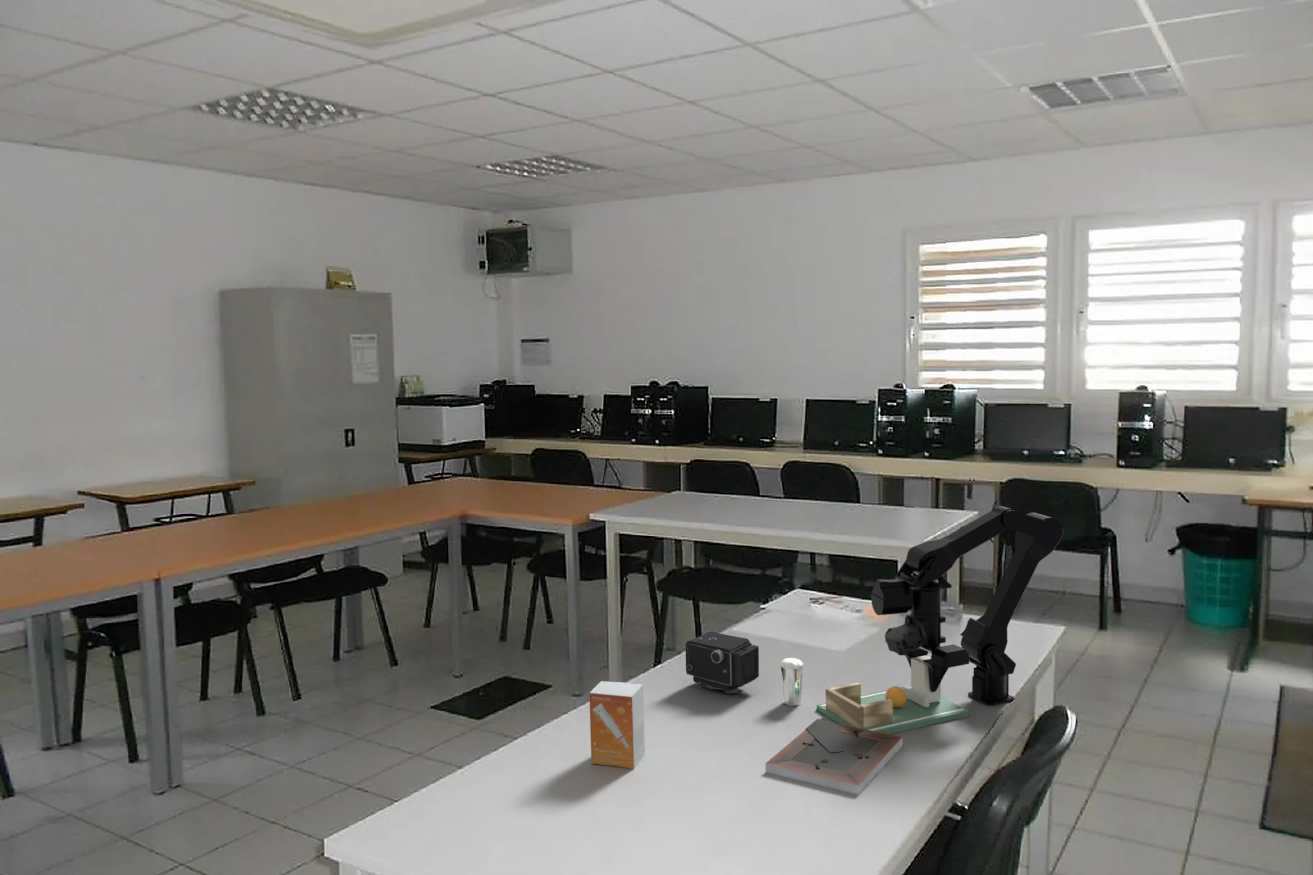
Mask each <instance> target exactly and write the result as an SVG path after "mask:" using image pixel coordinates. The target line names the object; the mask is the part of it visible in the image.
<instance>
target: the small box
mask: <svg viewBox="0 0 1313 875" xmlns="http://www.w3.org/2000/svg"><path fill="white" fill-rule="evenodd" d="M588 695H589V723H590V724H589V725H590V726H589V727H590V728H589V729H590V761H591V764H592V765H593V764H594V765H602V766H603V765H604V766H613V767H620V768H628V769H632V770H634V769H635V768H636V767H637V765H639V762H640V761H641V760H642V759H643V757H644V756H645V754H646V743H645V742H646V740H645V739H646V738H645V732H646V731H645V711H644V710H645V705H644V704H645V703H644V701H645V700H644V698H645V697H644V684H642V683H640V684H639V683H628V682H622V681H605V680H601V681H600V682H598V684H597V685H596V686H594V688H592V690H591V691H590V692H589V694H588Z"/></svg>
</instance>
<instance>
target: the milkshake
mask: <svg viewBox="0 0 1313 875" xmlns="http://www.w3.org/2000/svg"><path fill="white" fill-rule="evenodd" d="M807 657H808V655H806V657H805V658H804V659H805V660H804V662H803V661H801V660H800V659H799V658H796V657H795V658H794V657H786V658H783V659H782V661H781V662H780V673H781V681H782V682H781V683H782V693H783V694H782V695H783V703H784V704H785V705H786V706H789V707H797V706H799V705H801V704H802V689H803V688H802V687H803V685H802V684H803V672H804V671H803V669H804V664H805V662H806V659H807Z"/></svg>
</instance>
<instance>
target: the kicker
mask: <svg viewBox="0 0 1313 875" xmlns="http://www.w3.org/2000/svg"><path fill="white" fill-rule="evenodd" d="M927 659H931V655H925V656H920V657H915V658H911V668H910V685H911V687H909V686H910V685H906V684H905V685H902V686H901V687H902V689H903V690H904V691H905V693H906V697H907V698H908V699H909V700H911V701H913V702H915V703H917V704H919V705H921V706H923V707H925V708H926V707H929V703H932V702H936V701H941V697H942V696H941V695H942V694H941V693H942V689H941V687H942V685H941V684H942V682H941V683H940V685H939V686H938V688H937V690H936V691H935V692H931V691H930V685H929V671H928V666H927V665H926V664H925V663H924V662H923V660H927Z"/></svg>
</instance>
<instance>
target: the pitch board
mask: <svg viewBox="0 0 1313 875" xmlns="http://www.w3.org/2000/svg"><path fill="white" fill-rule="evenodd" d="M908 686H909V687H911V684H910V685H908ZM900 688H902V686H901V687H900ZM887 690H888V689H887ZM887 690H882V691H878V692H877V691H876V692H874V693H873V692H872V693H867V694H863V695H862V694H861V704H859V705H864V704H868V703H873V702H878V701H882V700H886V698H885V695H886V692H887ZM816 711H817V712H819V713H821V714H822V715H824V716H826V717H827V718H829V719H830V720H832V721H833V722H835V723H839V724H841V725H846V726H851V727H855V726H853V725H852V724H850V723H849V722H847V721H845V720H844V719H842V718H840V717H839V716H837V715H835V714H834V713H832V712H830V711H829V710H827V709H826V702H824V703H820V704H816ZM969 716H970V710H969V709H966V708H964V707H963V706H961V705H958V704H956V703H954V702H952V701H950V700H948V699H946V698H944V697H942V696H941V701H936V702H932V703H929V707H926V708H925V707H923V706H921V705H919V704H917V703H915V702H913V701H911V700H909V699H908V698H907V699H906V702H905V704H904V705H903V706H901V707H898V708H895V707H893V722H888V723H884V724H879V725H875V726H870V727H866V728H861V729H866V730H871V731H876V732H881V733H886V734H891V735H893V734H895V733H900V732H904V731H909V730H912V729H917V728H922V727H927V726H931V725H935V724H939V723H944V722H949V721H952V720H956V719H957V720H958V719H960V718H966V717H969ZM856 728H857V727H856Z"/></svg>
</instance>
